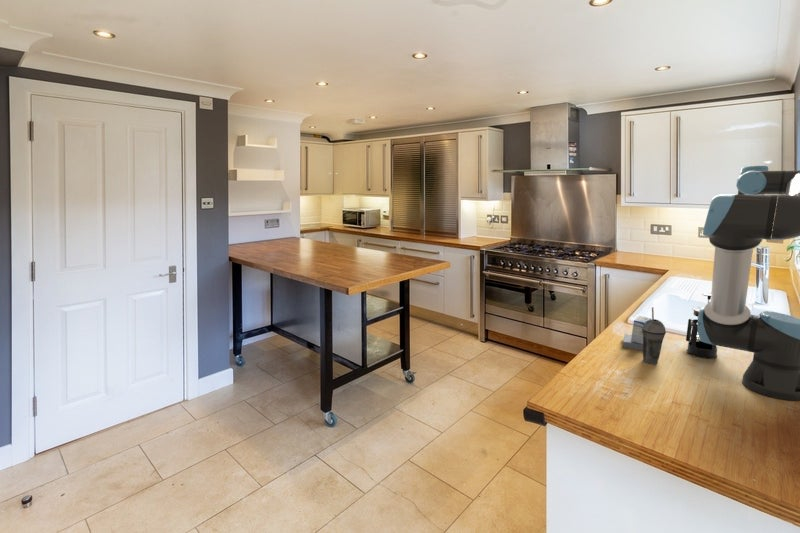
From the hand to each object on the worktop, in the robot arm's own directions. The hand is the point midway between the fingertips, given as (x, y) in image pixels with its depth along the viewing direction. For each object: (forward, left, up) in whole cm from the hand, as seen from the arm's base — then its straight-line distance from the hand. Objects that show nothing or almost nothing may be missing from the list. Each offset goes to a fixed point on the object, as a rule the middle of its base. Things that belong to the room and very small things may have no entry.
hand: (739, 269), depth 156 cm
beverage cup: (-25, +25, -32) cm, 48 cm away
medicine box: (-10, +29, -29) cm, 43 cm away
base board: (-10, +29, -32) cm, 45 cm away
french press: (-7, +9, -32) cm, 34 cm away
